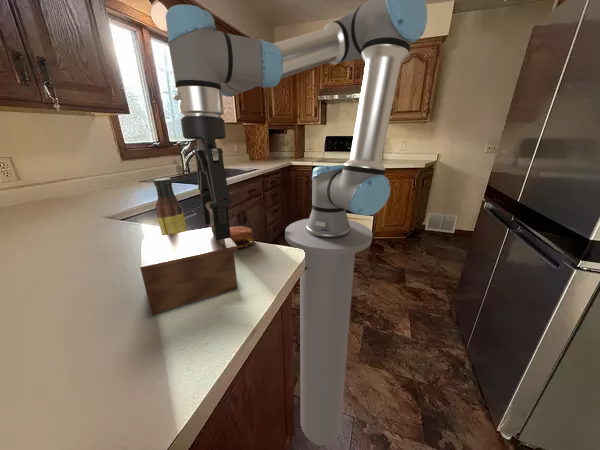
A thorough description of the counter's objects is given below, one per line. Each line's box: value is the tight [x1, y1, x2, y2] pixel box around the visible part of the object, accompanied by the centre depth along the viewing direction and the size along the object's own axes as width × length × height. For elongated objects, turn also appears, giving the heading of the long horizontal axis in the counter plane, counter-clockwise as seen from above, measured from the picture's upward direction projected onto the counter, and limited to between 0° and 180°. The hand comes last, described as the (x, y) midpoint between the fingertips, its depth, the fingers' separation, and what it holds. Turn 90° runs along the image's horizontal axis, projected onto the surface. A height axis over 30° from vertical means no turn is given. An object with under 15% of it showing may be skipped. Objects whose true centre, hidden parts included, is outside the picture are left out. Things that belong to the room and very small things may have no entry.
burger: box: [230, 225, 254, 249], centre depth 72 cm, size 10×9×5 cm
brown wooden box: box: [140, 250, 239, 315], centre depth 51 cm, size 16×14×9 cm
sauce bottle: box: [153, 177, 188, 236], centre depth 66 cm, size 6×6×20 cm
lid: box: [139, 201, 239, 272], centre depth 49 cm, size 16×14×8 cm
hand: (216, 229), depth 52 cm, fingers closed on lid, 10 cm apart
